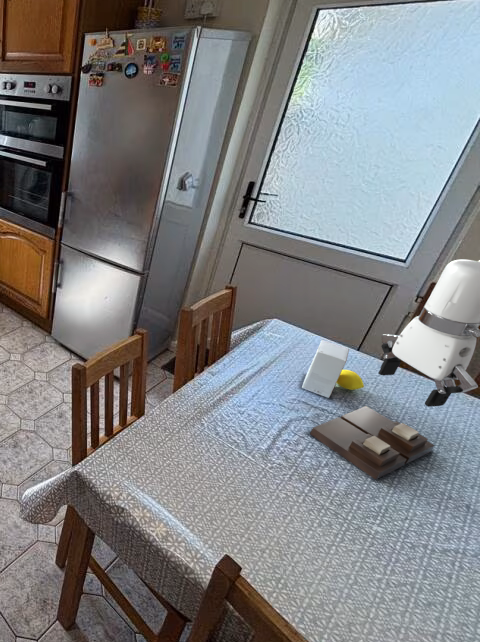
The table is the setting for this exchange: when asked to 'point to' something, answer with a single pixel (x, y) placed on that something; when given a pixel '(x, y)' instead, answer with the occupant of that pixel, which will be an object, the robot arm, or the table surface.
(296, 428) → the table surface
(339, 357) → the small box
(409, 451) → the keys low
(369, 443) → the key
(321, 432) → the keys high
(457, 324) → the robot arm
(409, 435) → the key
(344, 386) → the lemon
